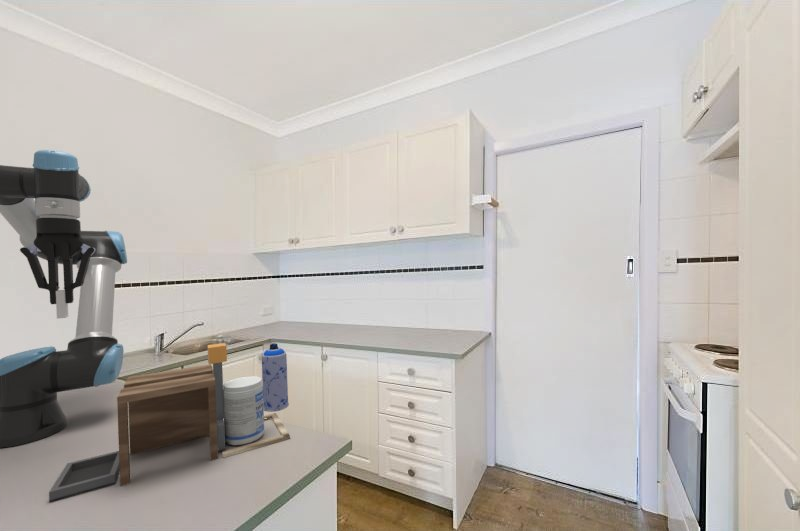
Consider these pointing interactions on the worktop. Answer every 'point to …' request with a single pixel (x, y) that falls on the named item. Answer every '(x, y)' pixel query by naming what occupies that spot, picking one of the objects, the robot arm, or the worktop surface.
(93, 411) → the worktop surface
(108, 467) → the tray
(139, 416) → the walnut tunnel
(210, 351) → the slider
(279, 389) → the aerosol can
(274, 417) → the frame
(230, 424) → the supplement tub
